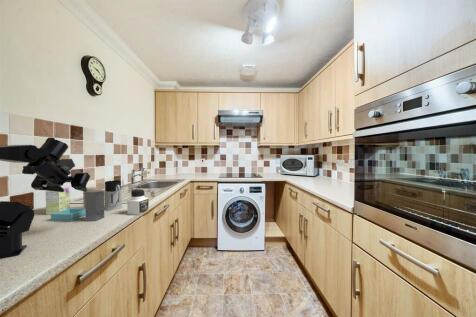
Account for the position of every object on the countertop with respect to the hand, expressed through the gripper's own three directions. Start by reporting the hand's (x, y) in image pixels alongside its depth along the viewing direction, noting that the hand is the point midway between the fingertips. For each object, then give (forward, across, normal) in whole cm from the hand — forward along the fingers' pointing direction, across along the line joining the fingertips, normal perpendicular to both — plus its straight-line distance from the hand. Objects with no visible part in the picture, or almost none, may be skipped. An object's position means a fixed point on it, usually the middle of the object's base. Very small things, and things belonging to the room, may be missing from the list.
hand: (74, 190), depth 84 cm
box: (+25, +24, -2) cm, 35 cm away
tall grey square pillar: (+15, -3, +7) cm, 17 cm away
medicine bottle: (+23, -18, +1) cm, 29 cm away
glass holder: (+28, -3, -4) cm, 29 cm away
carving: (+28, +10, -4) cm, 30 cm away
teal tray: (+17, +10, +5) cm, 20 cm away
